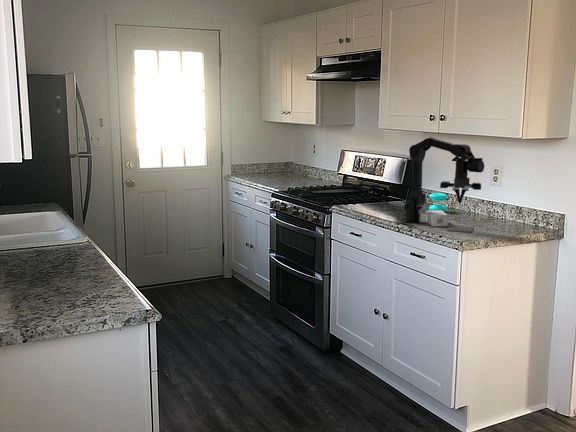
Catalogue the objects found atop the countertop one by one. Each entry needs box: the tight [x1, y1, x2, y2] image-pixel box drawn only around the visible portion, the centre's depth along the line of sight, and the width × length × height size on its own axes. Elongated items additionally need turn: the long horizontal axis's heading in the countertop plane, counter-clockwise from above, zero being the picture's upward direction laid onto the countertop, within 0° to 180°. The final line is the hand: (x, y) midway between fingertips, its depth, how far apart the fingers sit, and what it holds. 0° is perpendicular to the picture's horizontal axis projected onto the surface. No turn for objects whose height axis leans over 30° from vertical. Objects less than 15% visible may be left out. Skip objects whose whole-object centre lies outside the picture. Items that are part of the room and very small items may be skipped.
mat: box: [446, 224, 474, 234], centre depth 293 cm, size 11×14×1 cm
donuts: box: [428, 192, 449, 213], centre depth 343 cm, size 10×10×10 cm
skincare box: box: [425, 209, 449, 227], centre depth 305 cm, size 8×6×15 cm
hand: (459, 203), depth 291 cm, fingers closed
